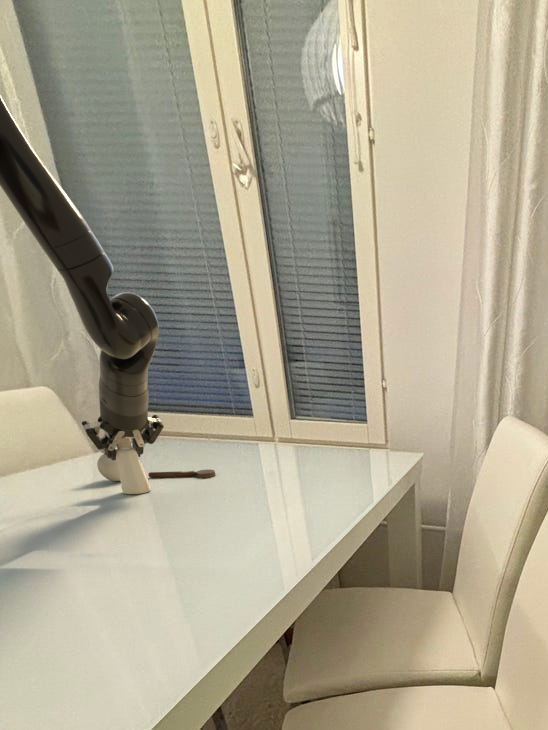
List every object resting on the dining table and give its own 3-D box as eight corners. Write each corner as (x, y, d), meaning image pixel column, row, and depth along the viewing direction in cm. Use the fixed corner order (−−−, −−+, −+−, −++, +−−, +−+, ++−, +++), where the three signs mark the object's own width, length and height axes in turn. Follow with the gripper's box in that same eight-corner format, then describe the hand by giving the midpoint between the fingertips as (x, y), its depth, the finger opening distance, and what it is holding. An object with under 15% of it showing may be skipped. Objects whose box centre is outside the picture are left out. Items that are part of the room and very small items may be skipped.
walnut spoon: (146, 480, 123) (145, 474, 122) (151, 475, 126) (149, 470, 126) (214, 477, 126) (213, 472, 125) (216, 473, 129) (215, 468, 129)
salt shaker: (132, 487, 117) (116, 433, 112) (157, 488, 117) (142, 434, 112) (116, 494, 113) (99, 438, 107) (142, 495, 113) (126, 439, 107)
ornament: (99, 485, 118) (83, 436, 113) (107, 476, 125) (92, 430, 119) (130, 483, 120) (116, 435, 115) (137, 475, 126) (124, 429, 121)
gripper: (157, 378, 104) (153, 435, 117) (69, 382, 95) (76, 444, 109) (174, 411, 103) (168, 465, 117) (88, 418, 95) (92, 476, 108)
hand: (124, 455), depth 113 cm, fingers closed on salt shaker, 4 cm apart
